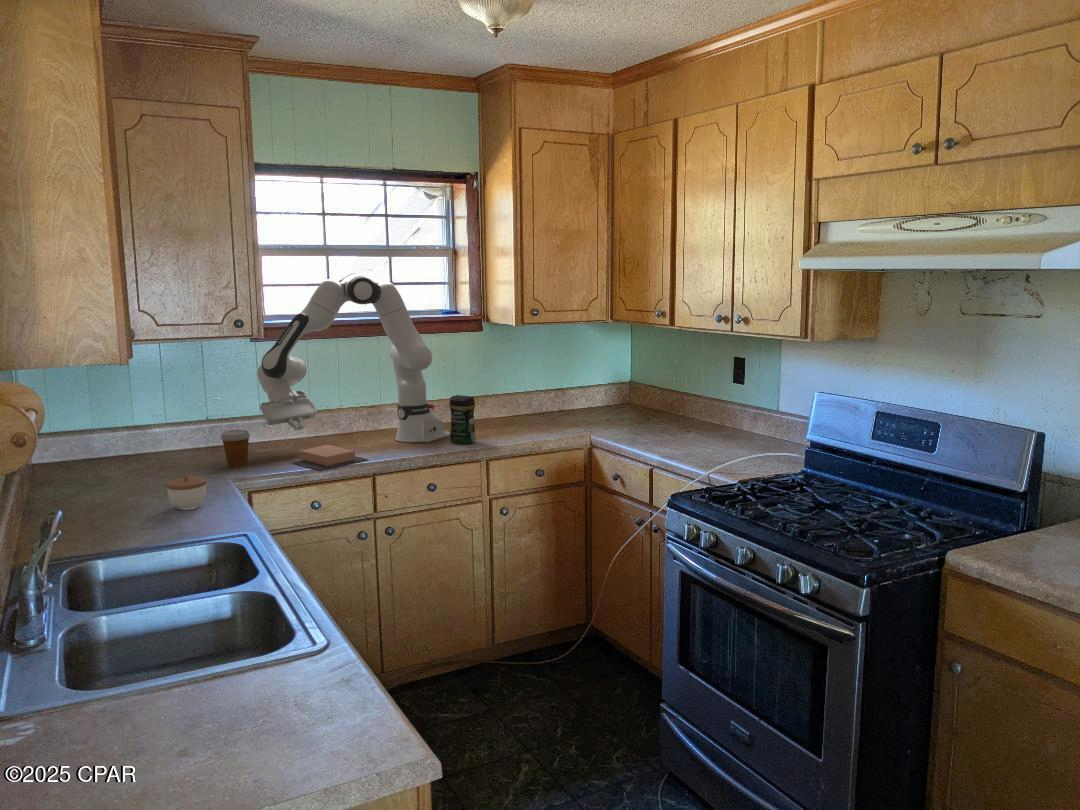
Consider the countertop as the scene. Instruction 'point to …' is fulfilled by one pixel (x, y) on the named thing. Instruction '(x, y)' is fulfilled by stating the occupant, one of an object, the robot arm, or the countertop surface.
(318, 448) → the tile
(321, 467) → the mat
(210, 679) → the countertop surface
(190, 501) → the lidded jar
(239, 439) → the disposable coffee cup
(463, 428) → the coffee jar
